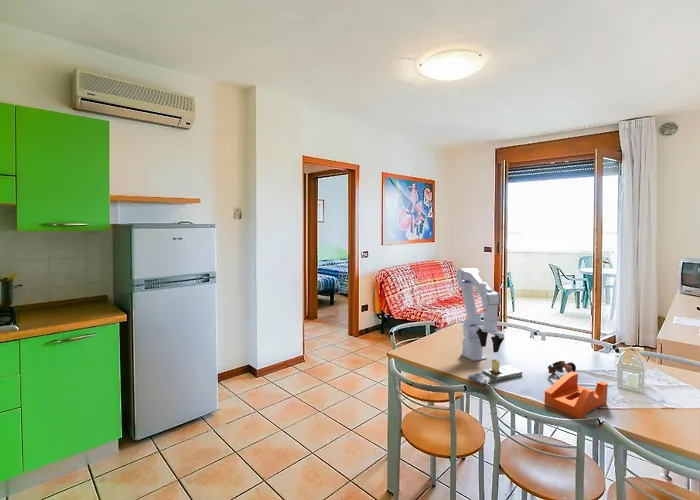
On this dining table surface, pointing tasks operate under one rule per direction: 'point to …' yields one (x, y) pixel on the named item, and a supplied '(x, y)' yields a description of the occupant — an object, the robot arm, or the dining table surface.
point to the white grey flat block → (504, 374)
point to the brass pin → (495, 367)
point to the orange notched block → (575, 396)
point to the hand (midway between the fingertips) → (489, 349)
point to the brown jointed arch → (561, 367)
